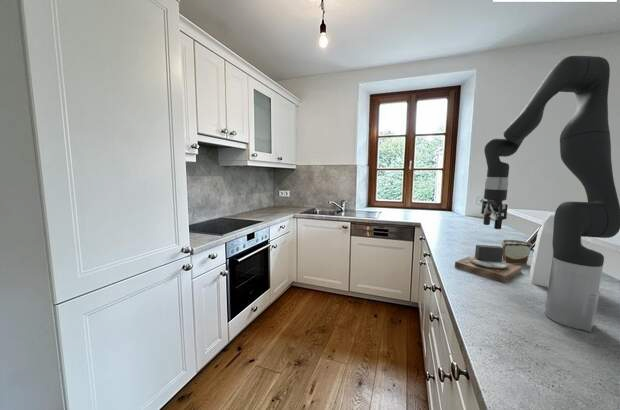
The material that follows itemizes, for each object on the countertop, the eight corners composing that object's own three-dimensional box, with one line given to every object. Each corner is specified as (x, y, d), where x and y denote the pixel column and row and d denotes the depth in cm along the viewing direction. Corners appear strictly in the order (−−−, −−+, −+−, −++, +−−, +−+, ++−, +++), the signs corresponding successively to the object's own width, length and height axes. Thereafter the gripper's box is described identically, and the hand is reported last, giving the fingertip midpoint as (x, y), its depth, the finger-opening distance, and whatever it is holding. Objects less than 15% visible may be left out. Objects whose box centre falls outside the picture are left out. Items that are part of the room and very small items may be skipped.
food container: (520, 260, 117) (522, 239, 116) (530, 264, 111) (533, 243, 110) (492, 258, 118) (495, 238, 117) (501, 263, 112) (504, 242, 111)
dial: (496, 259, 109) (497, 243, 108) (514, 270, 96) (516, 252, 95) (464, 257, 111) (465, 241, 110) (478, 267, 99) (480, 249, 98)
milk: (571, 282, 93) (581, 215, 89) (577, 293, 84) (589, 219, 81) (529, 274, 100) (537, 212, 97) (531, 283, 91) (540, 215, 88)
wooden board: (520, 272, 102) (521, 265, 101) (504, 282, 92) (505, 275, 91) (472, 259, 117) (473, 254, 116) (454, 267, 106) (455, 261, 106)
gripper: (517, 189, 92) (512, 231, 94) (496, 187, 106) (492, 223, 108) (495, 189, 94) (490, 230, 96) (477, 187, 107) (473, 223, 110)
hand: (491, 226), depth 102 cm, fingers open, 8 cm apart
